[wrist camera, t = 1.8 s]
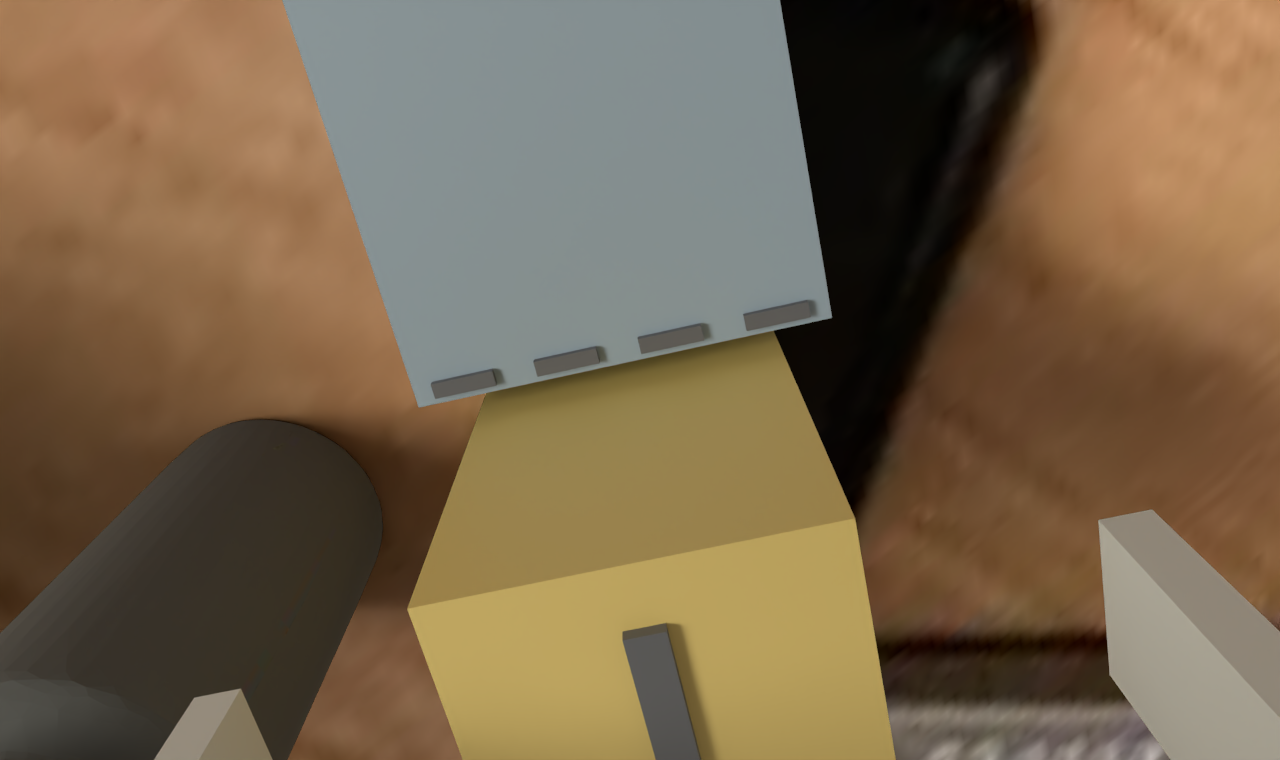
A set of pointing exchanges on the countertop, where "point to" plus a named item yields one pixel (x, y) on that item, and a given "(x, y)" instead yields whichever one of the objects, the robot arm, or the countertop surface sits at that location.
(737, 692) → the yellow box
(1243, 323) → the countertop surface
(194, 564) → the bottle
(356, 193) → the slotted gray box
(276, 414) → the countertop surface
